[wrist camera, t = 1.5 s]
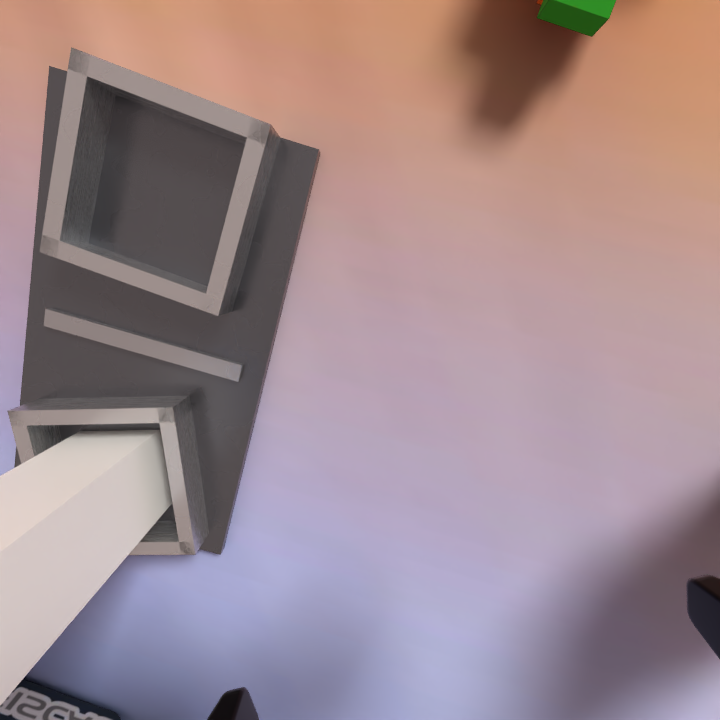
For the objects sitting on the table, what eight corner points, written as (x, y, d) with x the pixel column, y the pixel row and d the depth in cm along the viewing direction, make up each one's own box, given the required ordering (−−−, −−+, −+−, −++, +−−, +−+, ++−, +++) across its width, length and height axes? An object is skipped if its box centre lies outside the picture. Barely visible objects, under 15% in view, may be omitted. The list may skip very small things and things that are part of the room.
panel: (224, 547, 21) (218, 558, 20) (20, 492, 21) (6, 501, 20) (320, 153, 16) (317, 147, 16) (59, 72, 16) (43, 62, 15)
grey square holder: (283, 142, 16) (270, 124, 14) (235, 310, 18) (218, 316, 16) (110, 75, 16) (71, 47, 14) (78, 253, 18) (39, 251, 16)
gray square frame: (194, 392, 19) (172, 407, 17) (212, 526, 21) (195, 554, 19) (46, 395, 19) (7, 410, 17) (76, 527, 21) (44, 555, 19)
